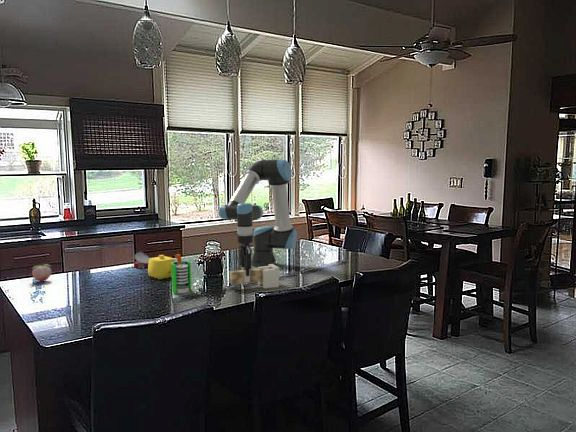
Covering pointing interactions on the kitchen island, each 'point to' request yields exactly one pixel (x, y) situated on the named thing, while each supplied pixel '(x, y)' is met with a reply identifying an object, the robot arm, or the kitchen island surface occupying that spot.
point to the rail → (238, 276)
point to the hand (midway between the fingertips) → (245, 281)
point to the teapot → (160, 267)
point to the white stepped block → (270, 276)
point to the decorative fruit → (41, 272)
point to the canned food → (141, 260)
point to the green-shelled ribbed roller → (181, 275)
